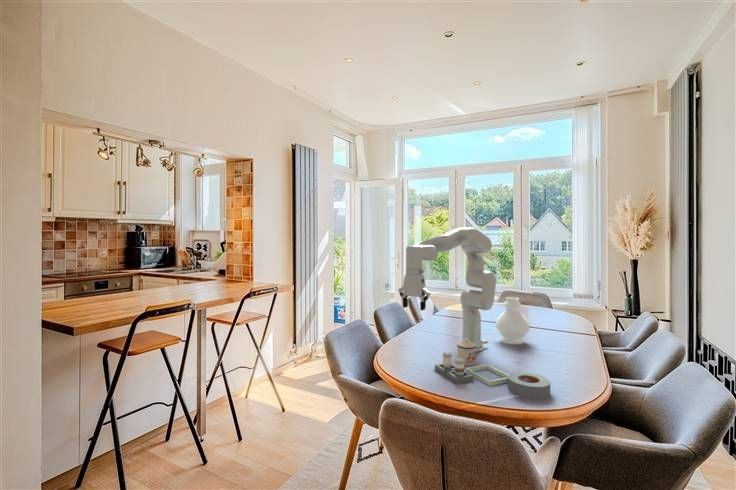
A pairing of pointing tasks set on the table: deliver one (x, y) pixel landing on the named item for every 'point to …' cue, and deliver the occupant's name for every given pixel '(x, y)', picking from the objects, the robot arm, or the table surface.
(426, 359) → the table surface
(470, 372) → the parts tray
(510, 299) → the decorative vase
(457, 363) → the fuse
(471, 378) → the fuse holder
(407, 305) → the robot arm
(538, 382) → the tape roll
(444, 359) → the cylinder
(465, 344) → the teacup with lid
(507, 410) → the table surface
